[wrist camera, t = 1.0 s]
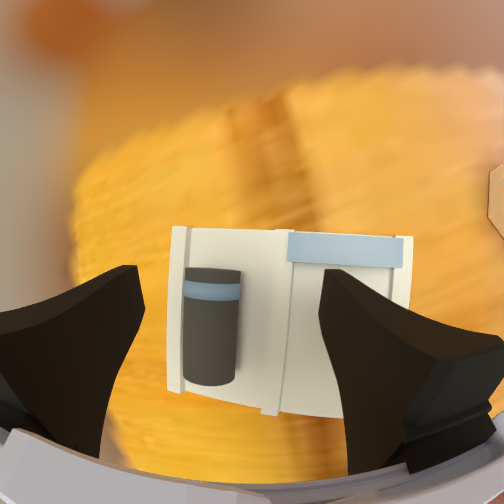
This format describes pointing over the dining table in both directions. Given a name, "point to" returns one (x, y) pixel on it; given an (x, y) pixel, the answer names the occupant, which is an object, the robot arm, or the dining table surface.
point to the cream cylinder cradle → (280, 308)
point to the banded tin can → (210, 325)
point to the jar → (497, 198)
